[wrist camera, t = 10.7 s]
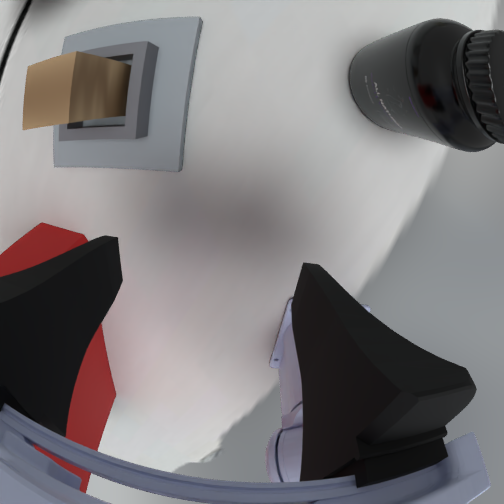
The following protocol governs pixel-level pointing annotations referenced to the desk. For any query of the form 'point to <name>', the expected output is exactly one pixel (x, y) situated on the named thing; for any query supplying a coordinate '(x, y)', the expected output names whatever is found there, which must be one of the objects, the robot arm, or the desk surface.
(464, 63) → the supplement bottle
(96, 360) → the book
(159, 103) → the stand
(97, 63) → the oak peg
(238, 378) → the desk surface
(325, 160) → the desk surface
